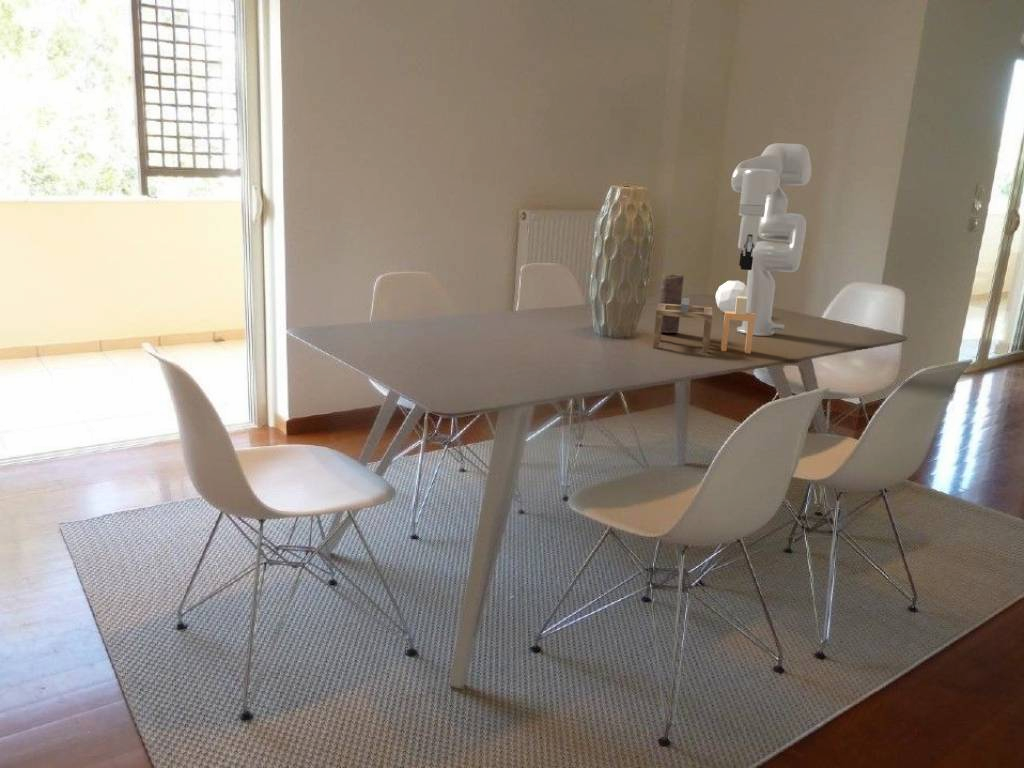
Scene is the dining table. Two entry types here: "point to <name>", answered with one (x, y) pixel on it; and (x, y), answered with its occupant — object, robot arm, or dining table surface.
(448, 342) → the dining table surface
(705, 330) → the shelf
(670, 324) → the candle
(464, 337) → the dining table surface
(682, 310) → the long charcoal crossbeam
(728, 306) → the geodesic sphere
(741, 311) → the orange cream legged block
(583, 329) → the dining table surface
